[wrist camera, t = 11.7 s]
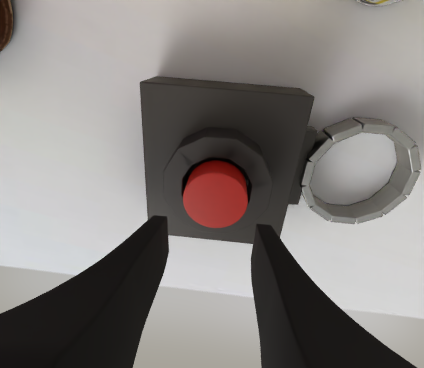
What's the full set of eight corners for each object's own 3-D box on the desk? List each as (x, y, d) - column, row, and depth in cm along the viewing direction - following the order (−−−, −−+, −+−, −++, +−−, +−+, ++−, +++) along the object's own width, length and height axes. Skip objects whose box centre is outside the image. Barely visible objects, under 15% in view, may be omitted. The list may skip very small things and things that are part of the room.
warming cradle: (423, 123, 18) (442, 130, 16) (381, 215, 21) (393, 228, 20) (294, 111, 18) (299, 117, 17) (273, 204, 22) (277, 216, 20)
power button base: (300, 88, 17) (326, 102, 12) (271, 220, 22) (282, 266, 18) (155, 76, 18) (126, 85, 13) (159, 208, 23) (139, 251, 18)
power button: (250, 162, 15) (252, 176, 13) (242, 214, 16) (243, 231, 15) (188, 156, 15) (183, 169, 13) (186, 208, 16) (182, 225, 15)
